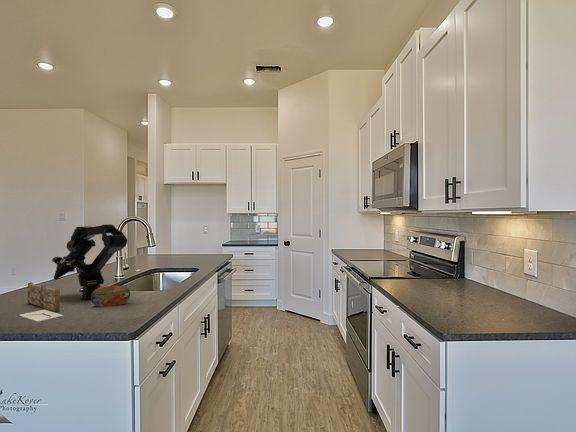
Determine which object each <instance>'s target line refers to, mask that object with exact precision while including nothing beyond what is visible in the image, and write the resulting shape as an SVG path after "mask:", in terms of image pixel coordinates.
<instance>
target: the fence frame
mask: <svg viewBox="0 0 576 432" xmlns="http://www.w3.org/2000/svg"><path fill="white" fill-rule="evenodd" d="M40 286H41V306H40V309H43V310H48V311H51V312H54V313H59V312H60V309H61V308H60V307H61V305H60V304H61V303H60V302H61V301H60V300H61V299H60V298H61V296H60V295H61V294H60V293H61V289H60V288H51V287H47V286H46V284H45V285H40Z"/></svg>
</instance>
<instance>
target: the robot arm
mask: <svg viewBox="0 0 576 432" xmlns="http://www.w3.org/2000/svg"><path fill="white" fill-rule="evenodd" d="M114 225H115V224H114ZM114 225H113V224H101V225H96V226H91V225H89V226H86V225H85V226H76V227H75V229H74V230H73V233H72V235H71V237H70V240H69V241H68V242H67V243H66V249H67V251H69V253H68V254H67V255H66V256H65V255H64V256H63V257H61V256H54V257H53V258H52V259H51V261H52V262H53V263H54V264H56V269H55V273H54V275H53V279H54V280H55V281H57V280H58V279H60V278H62V277H63V276H65V275H67V274H68V273H71V272H75V271H76V273H77V274H78V275H77V277H78V278H77V279H78V282H79V283H78V284H79V286H80V287H82V297H80V300H88V301H90V300H91V295H92V293H93V292H94V290H95V289H97V288H99V287H101V285H103V284H104V282H105V279H104V277H103V275H102V271H101V270H102V269H103V268H104V267H105V265H106V264H107V263H108V261H109V260H110V259H111V258H112V256H114V254H115V253H117V252H119V251H122V250H123V249H124V248H125V247H126V246H127V244H128V238H127V237H126V235H125V234H124V232H123V231H120V229H118V228H116V226H114ZM98 235H99V236H100V235H101V241H102V242H103V247H102V249H101V251H100V252H99V253H98V254H97V256H96V257H95V258H94V260H93V261H92V262H91V263H88V264H87V263H86V262H85V260H86V258H87V257H86V255H87V254H88V253H89V252H90V251H91V250H92V248H93V247H96V245H97V244H96V241H95V240H93V239H92V238H94V237H95V236H98Z"/></svg>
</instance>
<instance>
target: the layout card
mask: <svg viewBox="0 0 576 432" xmlns="http://www.w3.org/2000/svg"><path fill="white" fill-rule="evenodd" d="M18 316H20V317H22V318H25V319H28V320H30V321H34V322H37V323H38V322H39V323H40V322H43V321H47V320H51V319H57V318H60V317H64V314H61V313H59V312H55V311H51V310H48V309H41V310H36V311H31V312H27V313H22V314H21V313H20V314H19V315H18Z"/></svg>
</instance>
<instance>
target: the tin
mask: <svg viewBox="0 0 576 432" xmlns="http://www.w3.org/2000/svg"><path fill="white" fill-rule="evenodd" d="M130 298H131V291H130V289H129V288H128V287H127V286H126V285H121V284H120V285H107V286H100V287H99V288H97V289H95V290H94V292H93V293H92V295H91V302H92V305H94V306H95V307H99V308H102V307H110V306H111V307H113V306H121V305H124V304H126V303H127V302H128V301H129V300H130Z"/></svg>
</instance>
